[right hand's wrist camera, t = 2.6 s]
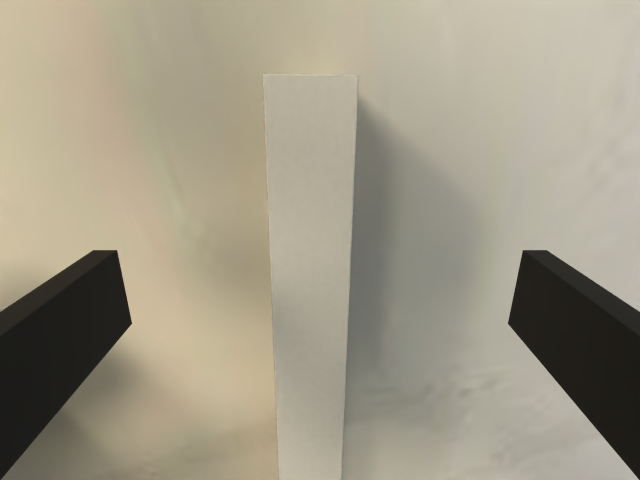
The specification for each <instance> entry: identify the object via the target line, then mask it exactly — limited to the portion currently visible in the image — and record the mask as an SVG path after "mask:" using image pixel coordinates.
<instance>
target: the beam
mask: <svg viewBox="0 0 640 480" xmlns="http://www.w3.org/2000/svg"><path fill="white" fill-rule="evenodd" d="M358 82H359V76H358V75H344V74H263V97H264V122H265V147H266V172H267V197H268V222H269V247H270V272H271V297H272V322H273V347H274V372H275V397H276V422H277V447H278V472H279V480H341V477H342V454H343V431H344V407H345V384H346V361H347V338H348V314H349V291H350V268H351V244H352V221H353V198H354V175H355V151H356V128H357V105H358Z"/></svg>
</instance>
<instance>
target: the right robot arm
mask: <svg viewBox="0 0 640 480" xmlns="http://www.w3.org/2000/svg"><path fill="white" fill-rule="evenodd" d="M131 324H132V321H131V317H130V312H129V307H128V302H127V297H126V292H125V287H124V282H123V277H122V272H121V267H120V263H119V258H118V253H117V250H93V251H92V252H90V253H89V254H87V255H86V256H84V257H83V258H81V259H79V260H78V261H76V262H75V263H73V264H72V265H70V266H69V267H67V268H66V269H64V270H63V271H61V272H60V273H58V274H57V275H55V276H54V277H52V278H51V279H49V280H48V281H46V282H45V283H43V284H42V285H40V286H39V287H37V288H36V289H34V290H33V291H31V292H30V293H28V294H27V295H25V296H24V297H22V298H21V299H19V300H18V301H16V302H15V303H13V304H12V305H10V306H9V307H7V308H6V309H4V310H3V311H1V312H0V480H1V479H2V478H3V476H4V475H5V474H6V473H7V472H8V470H9V469H10V468H11V467H12V466H13V464H14V463H15V462H16V461H17V460H18V458H19V457H20V456H21V455H22V454H23V453H24V451H25V450H26V449H27V448H28V447H29V445H30V444H31V443H32V442H33V441H34V439H35V438H36V437H37V436H38V435H39V434H40V432H41V431H42V430H43V429H44V428H45V426H46V425H47V424H48V423H49V422H50V420H51V419H52V418H53V417H54V416H55V414H56V413H57V412H58V411H59V410H60V409H61V407H62V406H63V405H64V404H65V403H66V401H67V400H68V399H69V398H70V397H71V395H72V394H73V393H74V392H75V391H76V390H77V388H78V387H79V386H80V385H81V384H82V382H83V381H84V380H85V379H86V378H87V376H88V375H89V374H90V373H91V372H92V371H93V369H94V368H95V367H96V366H97V365H98V363H99V362H100V361H101V360H102V359H103V357H104V356H105V355H106V354H107V353H108V351H109V350H110V349H111V348H112V347H113V346H114V344H115V343H116V342H117V341H118V340H119V338H120V337H121V336H122V335H123V334H124V332H125V331H126V330H127V329H128V328H129V327H130V325H131ZM508 324H509V325H510V327H511V328H512V329H513V330H514V331H515V332H516V334H517V335H518V336H519V337H520V338H521V340H522V341H523V342H524V343H525V344H526V346H527V347H528V348H529V349H530V350H531V351H532V353H533V354H534V355H535V356H536V357H537V359H538V360H539V361H540V362H541V363H542V365H543V366H544V367H545V368H546V369H547V371H548V372H549V373H550V374H551V375H552V376H553V378H554V379H555V380H556V381H557V382H558V384H559V385H560V386H561V387H562V388H563V390H564V391H565V392H566V393H567V394H568V395H569V397H570V398H571V399H572V400H573V401H574V403H575V404H576V405H577V406H578V407H579V409H580V410H581V411H582V412H583V413H584V415H585V416H586V417H587V418H588V419H589V420H590V422H591V423H592V424H593V425H594V426H595V428H596V429H597V430H598V431H599V432H600V434H601V435H602V436H603V437H604V438H605V439H606V441H607V442H608V443H609V444H610V445H611V447H612V448H613V449H614V450H615V451H616V453H617V454H618V455H619V456H620V457H621V458H622V460H623V461H624V462H625V463H626V464H627V466H628V467H629V468H630V469H631V470H632V472H633V473H634V474H635V475H636V476H637V478H638V479H639V480H640V312H639V311H637V310H636V309H634V308H633V307H631V306H630V305H628V304H627V303H625V302H624V301H622V300H621V299H619V298H618V297H616V296H615V295H613V294H612V293H610V292H609V291H607V290H606V289H604V288H603V287H601V286H600V285H598V284H597V283H595V282H594V281H592V280H591V279H589V278H588V277H586V276H585V275H583V274H582V273H580V272H579V271H577V270H576V269H574V268H573V267H571V266H570V265H568V264H567V263H565V262H564V261H562V260H561V259H559V258H557V257H556V256H554V255H553V254H551V253H550V252H548V251H547V250H523V253H522V258H521V263H520V267H519V272H518V277H517V282H516V287H515V292H514V297H513V302H512V307H511V312H510V317H509V321H508Z"/></svg>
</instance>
